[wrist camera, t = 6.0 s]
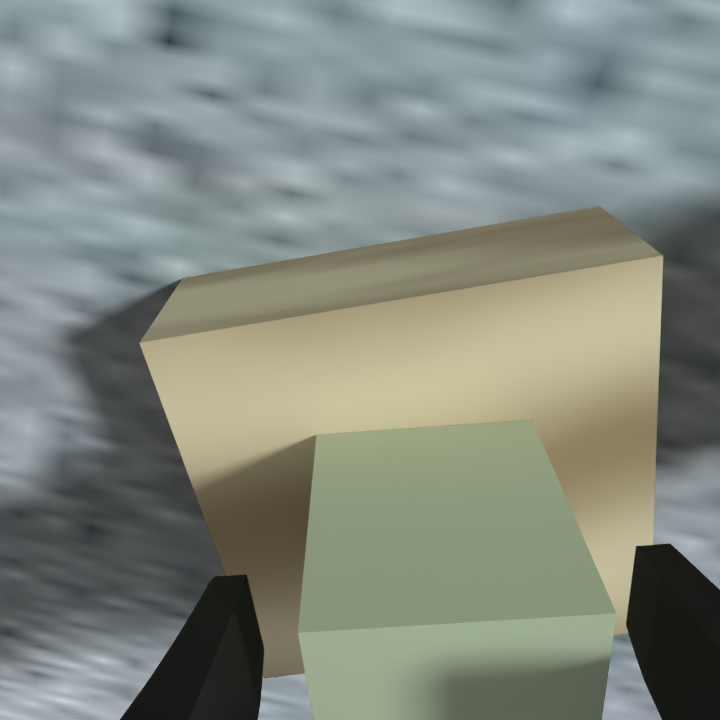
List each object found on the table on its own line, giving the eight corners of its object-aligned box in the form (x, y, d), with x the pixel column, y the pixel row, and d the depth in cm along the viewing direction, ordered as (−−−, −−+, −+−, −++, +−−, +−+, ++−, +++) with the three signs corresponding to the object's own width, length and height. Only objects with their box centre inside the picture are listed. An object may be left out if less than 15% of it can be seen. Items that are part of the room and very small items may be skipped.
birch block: (598, 522, 20) (649, 630, 17) (279, 566, 21) (263, 678, 17) (593, 201, 16) (662, 255, 12) (186, 272, 16) (139, 343, 13)
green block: (524, 577, 16) (590, 798, 11) (337, 589, 16) (330, 811, 11) (531, 419, 14) (616, 612, 9) (316, 434, 14) (298, 633, 9)
